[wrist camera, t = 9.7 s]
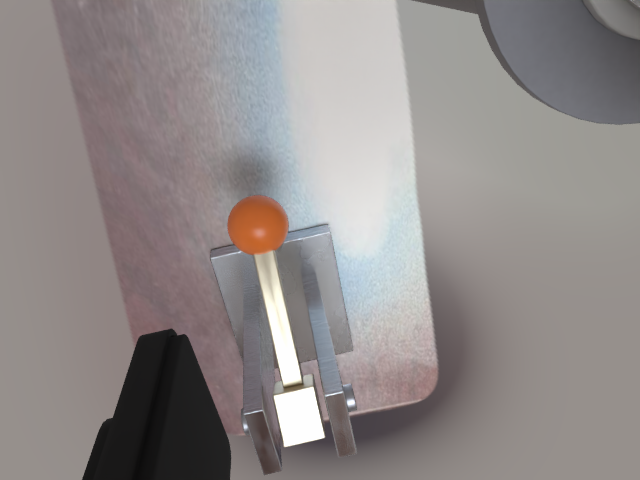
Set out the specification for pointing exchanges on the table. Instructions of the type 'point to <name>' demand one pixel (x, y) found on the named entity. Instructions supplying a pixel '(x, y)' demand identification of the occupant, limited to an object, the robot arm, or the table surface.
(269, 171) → the table surface
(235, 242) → the lever
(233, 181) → the table surface
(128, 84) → the table surface
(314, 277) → the bracket
